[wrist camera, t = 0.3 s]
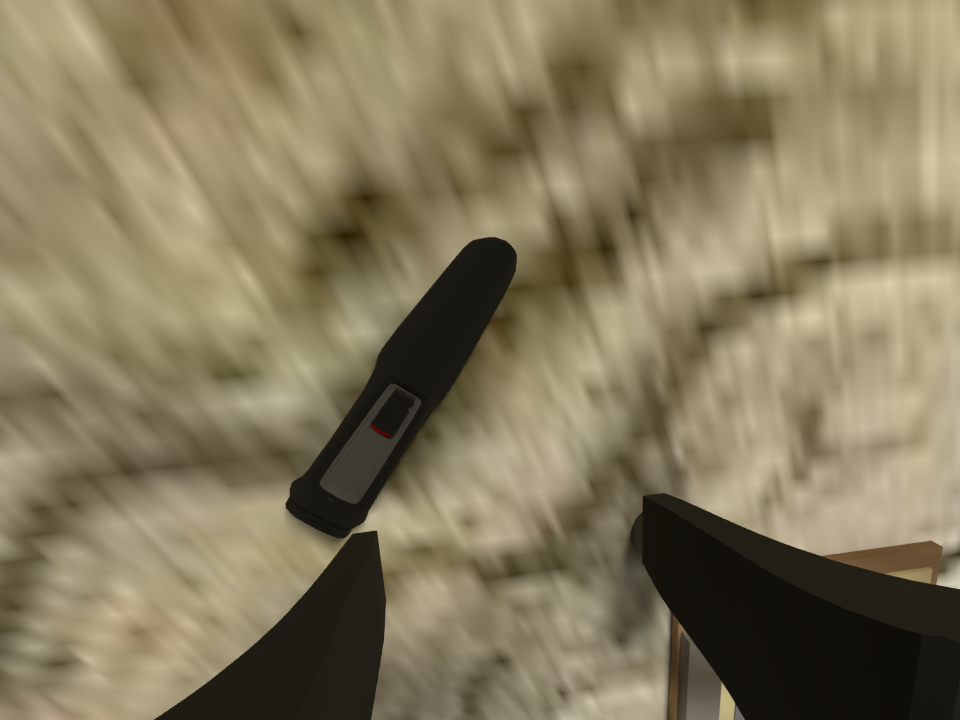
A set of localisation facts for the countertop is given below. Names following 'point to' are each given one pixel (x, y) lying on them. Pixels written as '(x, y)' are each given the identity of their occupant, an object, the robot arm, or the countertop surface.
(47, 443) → the countertop surface
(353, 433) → the electric trimmer
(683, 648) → the clipboard
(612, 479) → the countertop surface
